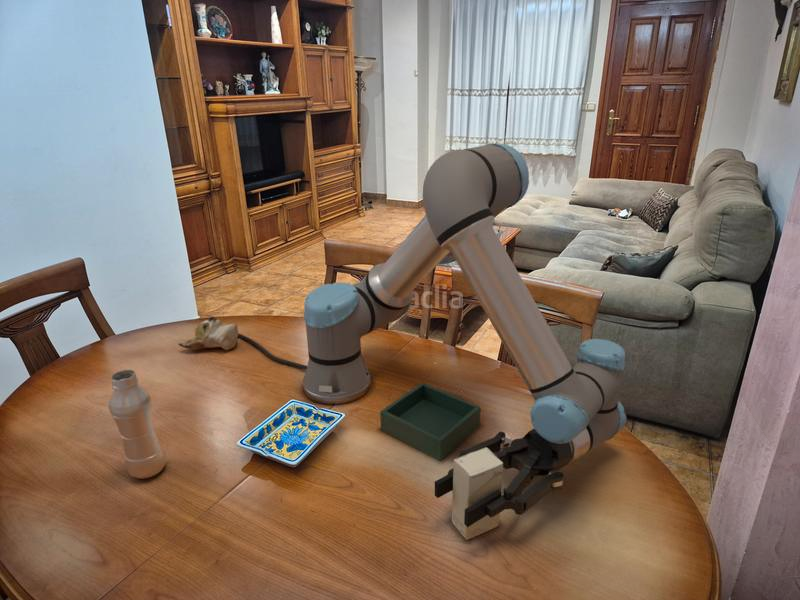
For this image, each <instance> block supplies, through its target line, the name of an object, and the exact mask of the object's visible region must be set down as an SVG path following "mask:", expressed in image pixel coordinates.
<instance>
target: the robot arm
mask: <svg viewBox="0 0 800 600" xmlns="http://www.w3.org/2000/svg"><path fill="white" fill-rule="evenodd" d="M529 185H530V171H529V167H528V164H527V162H526V160H525V158H524V156H523V155H522V154H521V152H519V151H518V150H517V149H516V148H515V147H513V146H511V145H508V144H505V143H494V142H492V143H491V142H490V143H486V144H484V145H478V146H474V147H469V148H463V149H454V150H451V151H448V152H445V153H444V154H442V155H440V156H439V157H438V158H437V159H436V160H434V162H433V163H432V164H431V165H430V167H429V168H428V171H426V175H425V177H424V181H423V184H422V202H423V208H424V212H425V215H424V217H423V218H422V219H421V220H420V221H419V222H418V223H417V225H416V226H415V227H414V228H413V229H412V231H411V232H410V233H409V234H408V235H407V237H406V238H405V239H404V240H403V241H402V243H401V244H399V246H398V247H397V248H396V249H395V251H394V252H393V253H392V254H391V255H390V257H389V258H388V259H387V260H386V262H383V263H378V264H375V265H374V266H372V268H370V270H369V271H368V273H367V274H365V276H363V278H362V279H361V280H360V281H358V282H356V283H353V284H351V283H349V282H344V281H343V282H342V281H341V282H339V281H338V282H333V283H325V284H322V285H320V286H317V287H316V288H314V289H313V290H311V291H310V292H309V293H308V294H307V296H306V297H305V299H304V303H303V305H304V306H303V308H304V312H303V321H304V323H305V332H306V333H305V334H306V343H307V352H308V353H307V354H308V361H307V365H305V364H301V363H297V362H295V361H290V360H286V359H283V358H279V357H278V356H275V355H274V354H272V353H271V352H269V351H268V350H267V349H266V348H265V347H263V346H262V345H261V344H259V343H258V342H257V341H255V340H253V339H252V338H250V337H248V336H246V335H244V334H242V333H240V332H238V338H240V339H243V340H244V341H246V342H248V343H250V344H251V345H253V346H254V347H255V348H257V349H258V350H260V351H261V352H262V353H263V354H264V355H265V356H266V357H268V358H269V359H271V360H273V361H275V362H278V363H280V364H283V365H288V366H291V367H295V368H297V369H302V370H305V371H306V372H305V374H304V377H303V379H302V385H303V386H302V387H303V392H304V394H305V396H306V397H307V398H309V400H311V401H313V402H316V403H319V404H322V405H323V404H324V405H342V404H346V403H351V402H354V401H356V400H358V399H360V398H362V397H364V395H366V394H367V393H368V391H369V390H370V388H371V385H372V383H371V381H372V380H371V374H370V372H369V369H368V366H367V364H366V361H365V360H364V357H363V354H362V346H361V345H362V343H361V338H363V337H364V336H366V335H368V334H370V333H372V332H374V331H376V330H378V329H380V328H382V327H384V326H386V325H388V324H390V323H393V322H395V321H398V320H400V319H402V317H403V316H404V315H406V313H408V311H409V310H410V308H411V306H412V303H413V299H414V294H415V292H414V290H415V289H416V288H417V287H418V285H419V284H420V283H422V281H423V280H424V279H425V278H426V277H428V275H429V274H431V272H432V271H433V270H434V269H435V268H436V267H437V266H438V265H439V264H440V263H441V262H442V261H444V259H445V258H446V257H447V256H448V255H449V254H450V253H451V254H452V256H453V258H454V260H455V261H456V264H457V265H458V267H459V268H460V270H461V272H462V274H463V275H464V277H465V279H466V281H467V283H468V284H469V286H470V289H472V291H473V293H474V295H475V297H476V299H477V301H478V302H479V304H480V306H481V307H482V309H483V311H484V313H485V315H486V316H487V318H488V320H489V322H490V323H491V325H492V327H493V329H494V330H495V332H496V334H497V335H498V338H499V340H500V341H501V343H502V345H503V346H504V348H505V350H506V351H507V353H508V355H509V357H510V358H511V360H512V362H513V364H514V365H515V368H517V371H518V373H519V375H520V376H521V378H522V380H523V381H524V383H525V385H526V387H527V388H528V390H529V392H530V395H531V396H532V398H533V400H534V402H533V405H532V406H531V409H530V412H529V413H530V422H531V425H532V427H533V428H532V429H530V430H529V431H527V432H526V433H525V435H524V436H523V437H520V438H514V439H511V438H509V437H506V432H504V431H498V432H497V433H496V435H494V437H492V438H489V439H486V440H485V441H482V442H480V443H477V444H475V445H473V446H471V447H468V448H466V449H464V450H462V451H460V452H459V457H462V456H464V455H467V454H469V453H472V452H475V451H478V450H480V449H483V448H488V449H489V450H490V451H491V452H492V453H493V454H494V455H495V456H496V457H497V458H499V459H500V460H501V461H502V462H503V469H504V470H509V469H515V470H517V471H518V474H516V476H515V477H514V478H513V480H512V481H511V482H510V483H509V485H508V486H507V487H504V488H503V492H502V491H501V492H500V491H499V490H497V491H495V492H493V493H492V494H490V495H488V496H487V497H485V498H483V499H481V500H480V501H478V502H476V503H475V504H473V505H471V506H470V507H468V508H466V509H465V516H464V524H465V525H466V526H467V527H469V526H471V525H472V524H474V523H475V522H477V521H479V520H480V519H482V518H483V517H485V516H487V515H488V516H489V517H494V516H495V515H497V514H498V513H499V514H501V513H502V512H503V511H505V510H512V511H514V514H516V515H517V516H522V515H524V514H525V513H526V512H527V511H529V510H530V509H531V508H532V507H534V506H535V505H537V504H538V503H539V502H541V501H542V500H543V499H545V498H546V497H547V496H548V495H549V494H551V493H554V492H557V491H560V490H562V489H563V484H564V477H565V475H564V473H563V472H561V471H559V470H562V469H563V468H565V467H566V466H567V465H569V464H570V463H573V462H574V461H575V460H577V459H578V458H580V457H582V456H584V455H586V454H587V453H588V452H590V451H591V450H592V449H594V448H596V447H598V446H599V445H602V444H603V443H605V442H608V441H611V439H613V438H614V437H615V436H616V435H617V434H618V433H620V432H621V431H622V430H623V429H624V428H625V426H626V423H627V415H626V412H625V407H624V406H623V404H622V403H621V401H619V399H620V394H621V393H620V392H621V387H622V384H623V376H624V372H625V371H626V367H625V365H626V355H627V354H626V351H625V349H624V348H623V347H622V346H621V345H619V344H618V343H616V342H613V341H611V340H609V339H604V338H590V339H586V340H583V341H582V342H581V343H580V345H579V347H578V351H577V354H576V363H575V365H574V366H572V364H571V363H570V361H569V358H567V356H566V354H565V352H564V351H563V349H562V347H561V345H560V343H559V341H558V340H557V337H556V336H555V335H554V333H553V330H552V329H551V327H550V326H549V324H548V322H547V321H546V318H545V317H544V315H543V314H542V311H541V309H540V308H539V307H538V304H537V303H536V301H535V300H534V297H533V296H532V294H531V292H530V291H529V289H528V287H527V286H526V283H525V282H524V280H523V278H522V277H521V274H520V273H519V271H518V270H517V268H516V266H515V264H514V263H513V261H512V259H511V257H510V256H509V253H508V252H507V251H506V248H505V247H504V245H503V243H502V241H501V240H500V238H499V236H498V234H497V233H496V231H495V229H494V228H493V227H494V222H495V219H496V217H498V215H500V213H501V212H503V211H504V210H505V209H508V208H512V207H513V206H515V205H517V204H518V203H519V202H520V201H521V200H522V199H523V198H524V197H525V195H526V194H527V191H528V189H529ZM453 472H454V467H452V468H450V469H449V470H448V471H447V474H446V475H444V476H442V477H440V478H439V479H436V480H435V481H434V497H436V498H437V499H439V498H441V497H443V496H444V495H447V494H448V493H450V492H453ZM536 477H542V478H540V479H539V480H538V481H536V482H535V483H534V484H532V485H531V483H532V482H533V480H534V479H535V478H536ZM527 486H529V488H527ZM526 488H527V489H526Z"/></svg>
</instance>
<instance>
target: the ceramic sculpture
mask: <svg viewBox="0 0 800 600" xmlns="http://www.w3.org/2000/svg"><path fill="white" fill-rule="evenodd" d="M238 333H239V329H238V324H237V323H230V324H224V323H223V322H222V321H221V320H220V319H219V318H216V317H208V319H206V320H204V321H202V322H200V323H199V324H198V325H197V326H196V327H195V330H194V337H193V338H190V339H188V340H186V341H185V342H180V343H178V346H180V347H182V348H185V349H188V350H199V349H203V348H207V349H212V348H213V349H214V348H222V349H223V350H224V351H229V350H231V349H232V350H233V349H234V348H235V347H236V344H237V342H238V338H239V337H238Z"/></svg>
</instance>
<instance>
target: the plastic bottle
mask: <svg viewBox="0 0 800 600" xmlns="http://www.w3.org/2000/svg"><path fill="white" fill-rule="evenodd" d="M110 380H111V387H112V389H113V392H112V393H111V395H110V398H109V400H108V410H109V413H110V415H111V417H112V419H113V421H114V422H115V425H116V427H117V429H118V433H119V435H120V438H121V441H122V448H123V453H124V455H123V459H124V467H125V469H126V471H127V472H128V475H130V476H131V477H133V478H135V479H138V480H139V479H141V480H142V479H143V480H145V479H148V478H152V477H154V476H156V475H159V473H160V472H162V470H163V469H164V467H165V465H166V463H167V455H166V450H165V448H164V447H163V445H162V443H161V441H160V438H159V436H158V434H157V431H156V427H155V421H154V416H153V415H154V414H153V403H152V397H151V394H150V393H149V392H148V390H147V389H146V388H144V387H143V386H142V385H139V379H138V378H137V374H136V371H135V370H133V369H123V370H119V371H116V372H115V373H113V374H112V375H111V376H110Z"/></svg>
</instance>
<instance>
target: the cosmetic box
mask: <svg viewBox="0 0 800 600" xmlns="http://www.w3.org/2000/svg"><path fill="white" fill-rule="evenodd" d="M453 468H454V472H453V490H452V499H451V501H452V502H451V503H452V505H451V523H452V524H453V526H454V527H455V528H456V530H458V532H459V533H460V534H461V535H462V536H463V538H464V539H465V540H466V541H467V540H470V539H473V538H475V537H477V536H480V535H482V534H484V533H486V532H488V531H490V530H492V529H495V528H497V527H498V526H499V522H500V513H498V514H497V515H495V516H494V517H489V516H488V515H487V516H485V517H483V518H482V519H480V520H479V521H477V522H475V523H474V524H472V525H471V526H469V527H467V526H466V525H465V524H464V516H465V509H466V508H468V507H470V506H471V505H473V504H475V503H476V502H478V501H480V500H481V499H483V498H485V497H487V496H488V495H490V494H492V493H493V492H495V491H497V490H499V491H500V492H502V483H503V471H504V468H503V462H502V461H501V460H500V459H499V458H497V457H496V456H495V455H494V454H493V453H492V452H491V451H490V450H489V449H488V448H483V449H480V450H478V451H475V452H472V453H469V454H467V455H464V456H462V457H460V456H459V457H456V458H454V459H453Z"/></svg>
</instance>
